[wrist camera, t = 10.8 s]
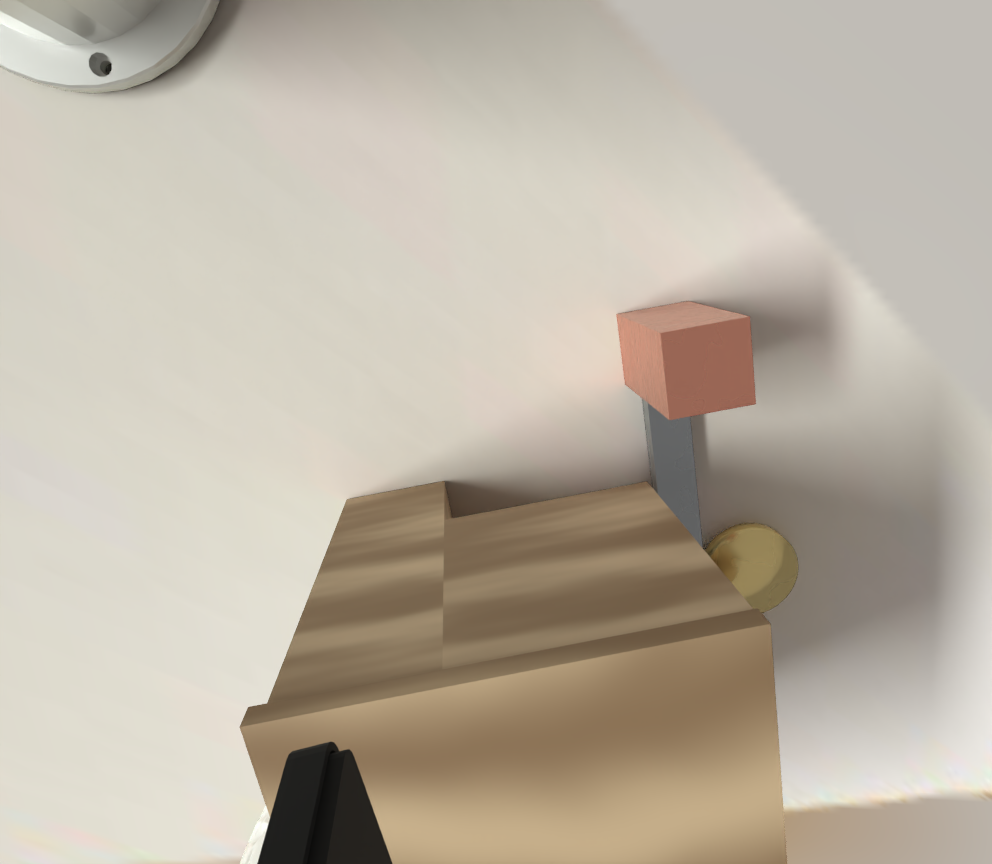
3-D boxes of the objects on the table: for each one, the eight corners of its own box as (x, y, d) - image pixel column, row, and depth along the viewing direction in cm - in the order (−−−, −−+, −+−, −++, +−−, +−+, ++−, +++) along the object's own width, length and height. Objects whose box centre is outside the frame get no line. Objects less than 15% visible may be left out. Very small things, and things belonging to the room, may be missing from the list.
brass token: (693, 530, 36) (701, 540, 35) (784, 512, 36) (795, 521, 35) (702, 612, 38) (710, 623, 37) (790, 594, 38) (801, 605, 37)
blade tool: (616, 314, 33) (660, 332, 26) (687, 300, 33) (749, 316, 26) (662, 686, 38) (707, 780, 32) (722, 674, 39) (780, 765, 32)
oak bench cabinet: (337, 497, 34) (239, 727, 18) (618, 444, 34) (770, 623, 18) (406, 762, 39) (376, 1134, 22) (653, 713, 39) (799, 1047, 23)
